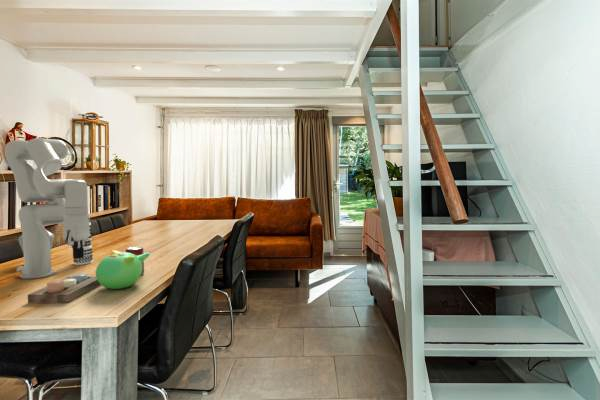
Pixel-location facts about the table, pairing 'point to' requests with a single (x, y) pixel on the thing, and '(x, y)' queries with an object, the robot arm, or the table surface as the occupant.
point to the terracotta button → (55, 287)
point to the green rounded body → (120, 269)
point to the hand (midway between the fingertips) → (78, 257)
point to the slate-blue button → (80, 277)
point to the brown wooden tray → (64, 292)
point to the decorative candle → (86, 250)
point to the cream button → (69, 282)
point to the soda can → (136, 252)
